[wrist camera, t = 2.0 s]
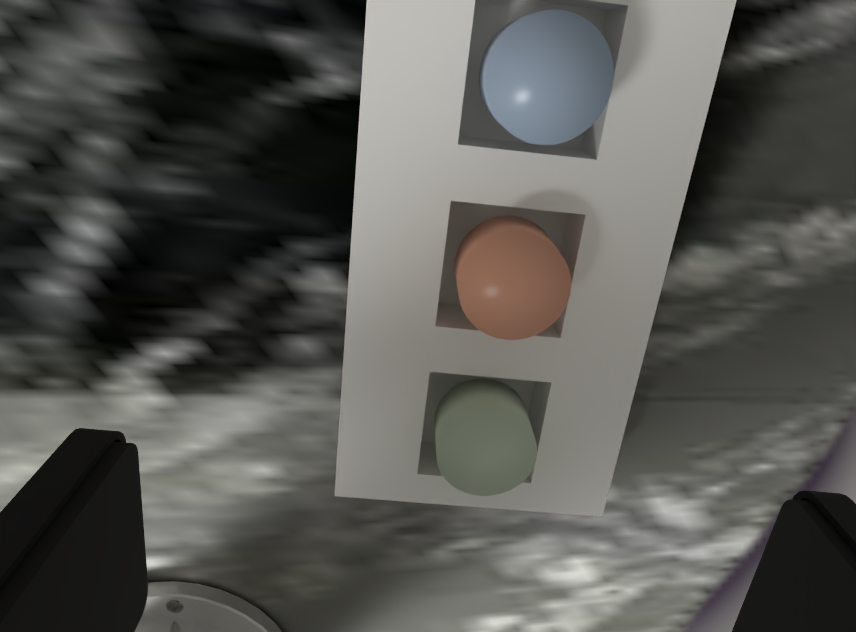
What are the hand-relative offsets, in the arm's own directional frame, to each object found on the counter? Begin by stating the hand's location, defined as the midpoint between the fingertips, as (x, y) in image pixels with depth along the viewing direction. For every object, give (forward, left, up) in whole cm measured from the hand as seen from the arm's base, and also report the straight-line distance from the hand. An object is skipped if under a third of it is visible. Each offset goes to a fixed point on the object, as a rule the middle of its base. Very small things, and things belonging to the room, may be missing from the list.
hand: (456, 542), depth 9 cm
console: (-1, -3, -19) cm, 20 cm away
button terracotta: (-1, -3, -17) cm, 17 cm away
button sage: (-8, -3, -17) cm, 19 cm away
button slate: (+6, -3, -17) cm, 18 cm away
